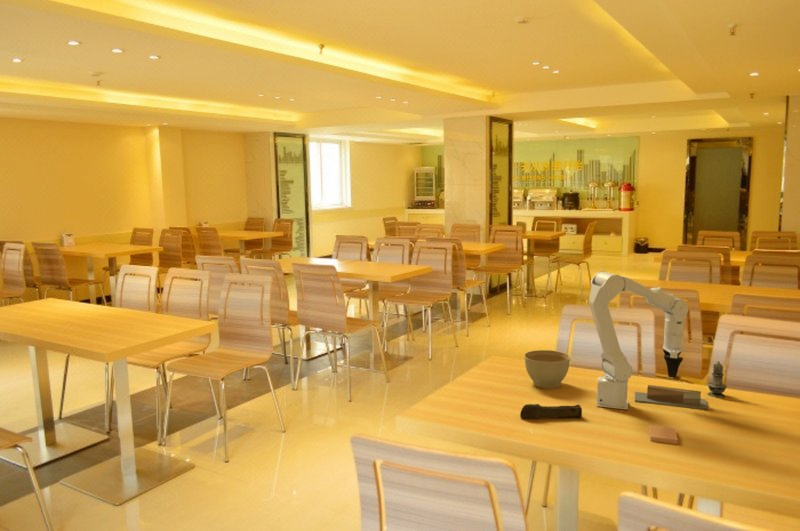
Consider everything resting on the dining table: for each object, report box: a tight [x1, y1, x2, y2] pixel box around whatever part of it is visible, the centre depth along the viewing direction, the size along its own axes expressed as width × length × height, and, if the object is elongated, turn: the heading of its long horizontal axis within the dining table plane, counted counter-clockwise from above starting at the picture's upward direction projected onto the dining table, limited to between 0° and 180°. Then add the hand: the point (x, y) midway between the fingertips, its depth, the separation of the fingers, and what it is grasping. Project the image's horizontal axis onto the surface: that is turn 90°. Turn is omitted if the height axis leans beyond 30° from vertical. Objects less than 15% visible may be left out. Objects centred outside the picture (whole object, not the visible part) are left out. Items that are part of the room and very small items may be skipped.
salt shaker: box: [707, 361, 728, 399], centre depth 208 cm, size 6×6×12 cm
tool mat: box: [634, 391, 709, 411], centre depth 203 cm, size 22×9×1 cm, turn 69°
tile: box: [648, 425, 679, 445], centre depth 174 cm, size 7×2×9 cm
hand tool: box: [519, 403, 583, 420], centre depth 189 cm, size 19×4×5 cm, turn 91°
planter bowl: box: [523, 349, 571, 389], centre depth 220 cm, size 16×16×11 cm
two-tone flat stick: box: [646, 384, 702, 406], centre depth 202 cm, size 2×16×4 cm, turn 64°
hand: (671, 373), depth 202 cm, fingers open, 7 cm apart
